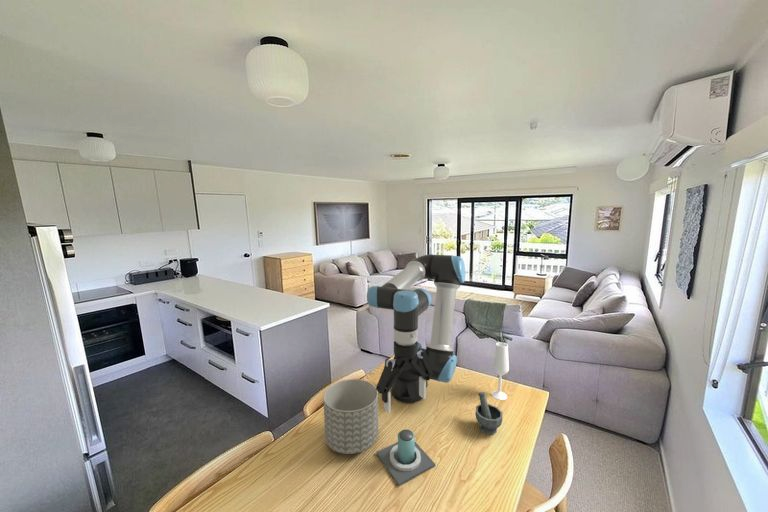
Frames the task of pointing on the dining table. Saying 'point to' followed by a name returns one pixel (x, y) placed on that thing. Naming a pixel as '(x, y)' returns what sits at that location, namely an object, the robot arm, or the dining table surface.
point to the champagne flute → (500, 367)
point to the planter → (351, 416)
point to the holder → (402, 471)
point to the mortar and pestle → (488, 415)
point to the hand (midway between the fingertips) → (405, 403)
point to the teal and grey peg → (406, 447)
